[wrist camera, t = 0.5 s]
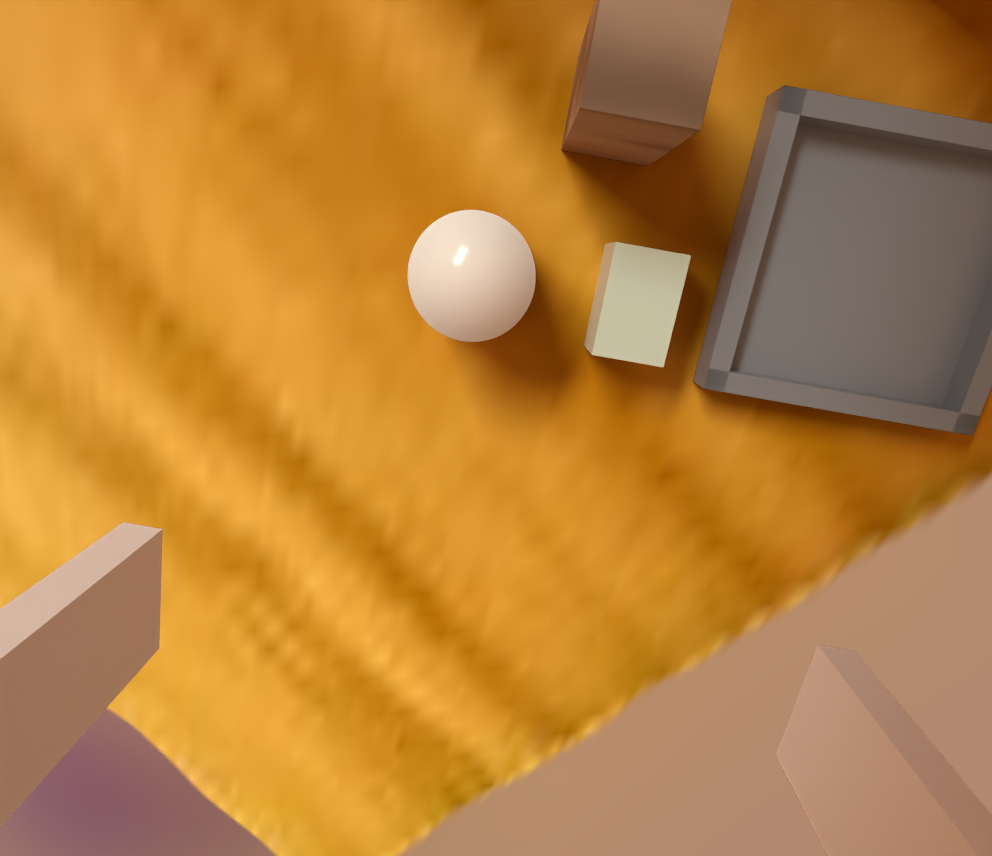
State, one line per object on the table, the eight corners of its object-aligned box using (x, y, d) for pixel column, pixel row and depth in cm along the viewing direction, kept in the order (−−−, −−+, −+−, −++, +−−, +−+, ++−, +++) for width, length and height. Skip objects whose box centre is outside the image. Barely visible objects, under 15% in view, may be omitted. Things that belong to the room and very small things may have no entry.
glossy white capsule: (432, 209, 36) (417, 199, 30) (541, 228, 36) (547, 222, 30) (417, 319, 37) (399, 330, 32) (521, 337, 37) (523, 351, 32)
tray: (767, 96, 34) (784, 85, 31) (1052, 149, 34) (1088, 141, 32) (692, 381, 38) (703, 388, 36) (946, 426, 38) (972, 435, 36)
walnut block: (579, 51, 33) (606, -35, 24) (670, 68, 33) (734, -11, 24) (561, 150, 35) (580, 107, 25) (648, 166, 35) (700, 129, 25)
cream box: (604, 243, 36) (616, 241, 32) (672, 255, 36) (691, 255, 32) (583, 345, 38) (591, 354, 34) (648, 356, 38) (663, 367, 34)
